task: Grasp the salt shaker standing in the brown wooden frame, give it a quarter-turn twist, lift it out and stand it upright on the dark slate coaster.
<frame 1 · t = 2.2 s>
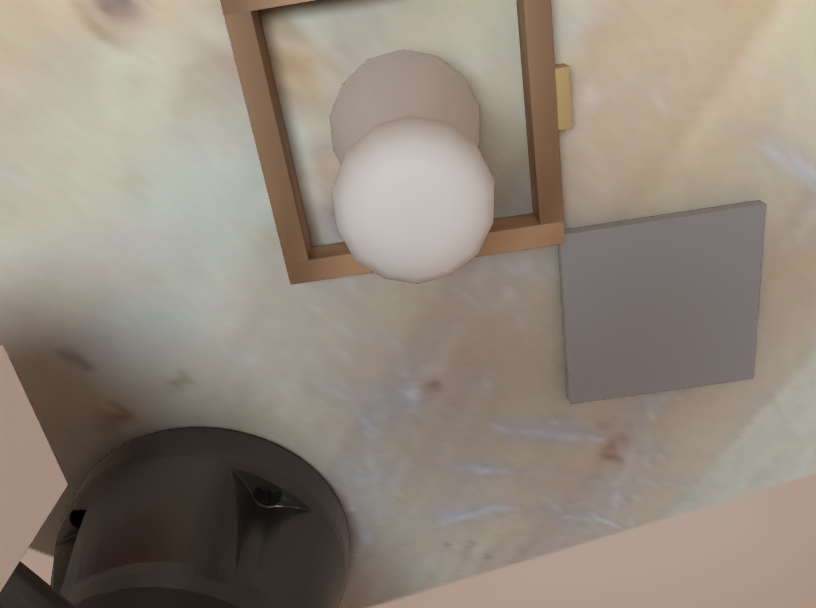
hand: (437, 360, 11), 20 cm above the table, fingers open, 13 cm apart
coaster: (657, 305, 33), on the table
brown wooden frame: (404, 117, 29), on the table
salt shaker: (404, 116, 29), resting in brown wooden frame
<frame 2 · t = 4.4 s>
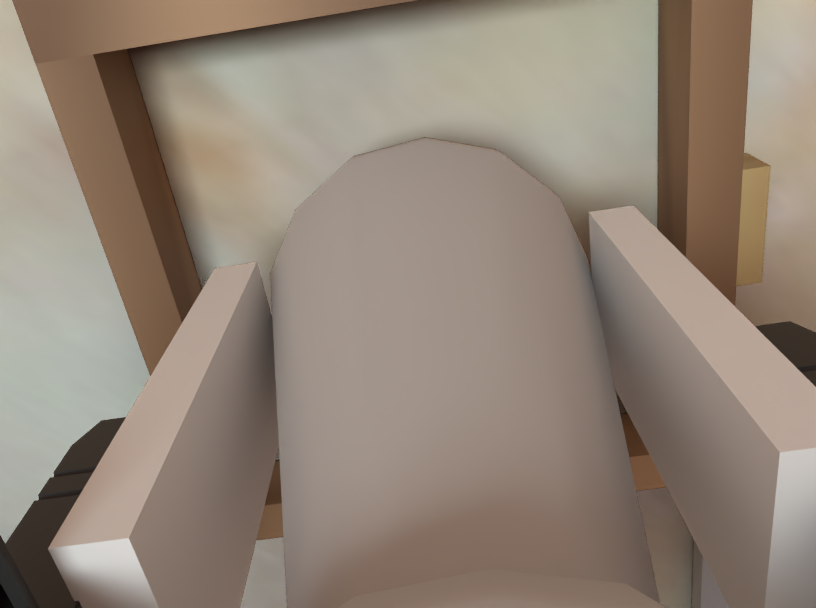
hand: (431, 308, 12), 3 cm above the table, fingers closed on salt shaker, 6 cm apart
brown wooden frame: (425, 250, 15), on the table
salt shaker: (424, 246, 15), resting in brown wooden frame, touching gripper
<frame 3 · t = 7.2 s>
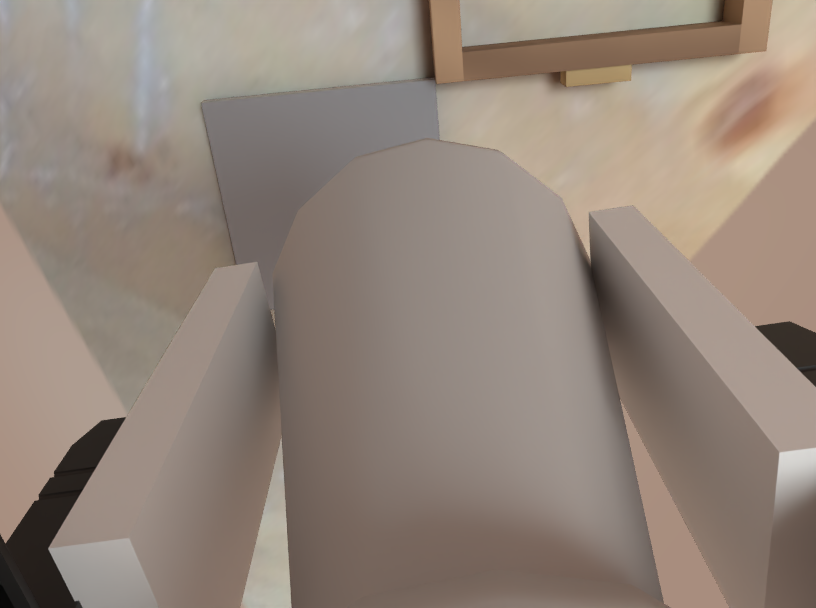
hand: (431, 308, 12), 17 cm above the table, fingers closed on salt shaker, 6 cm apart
coaster: (335, 199, 29), on the table
salt shaker: (426, 246, 15), point 14 cm above the table, touching gripper
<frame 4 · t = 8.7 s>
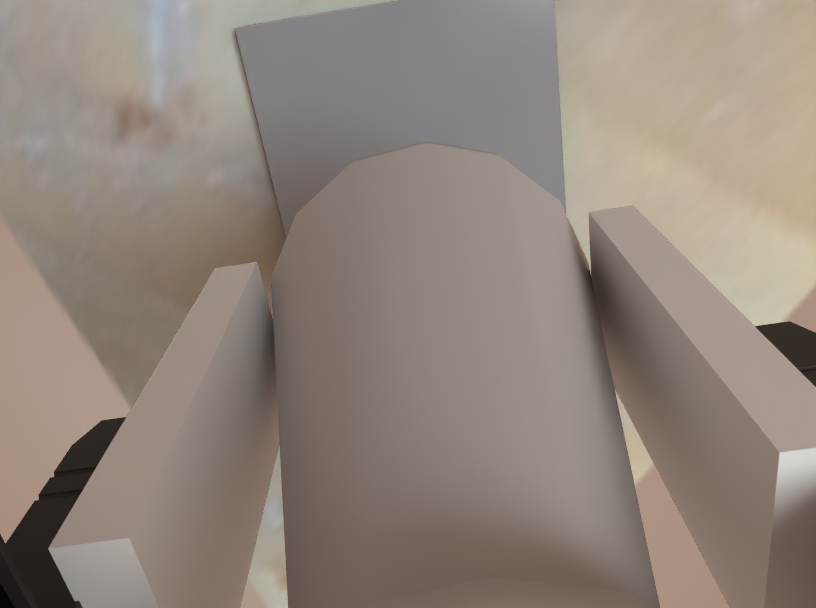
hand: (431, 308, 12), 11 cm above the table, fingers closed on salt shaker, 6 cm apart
coaster: (415, 154, 22), on the table
salt shaker: (425, 249, 15), point 8 cm above the table, touching gripper
when the fingers open (5 cm above the table, at t = 10.1 s): salt shaker drops 1 cm, resting on coaster.
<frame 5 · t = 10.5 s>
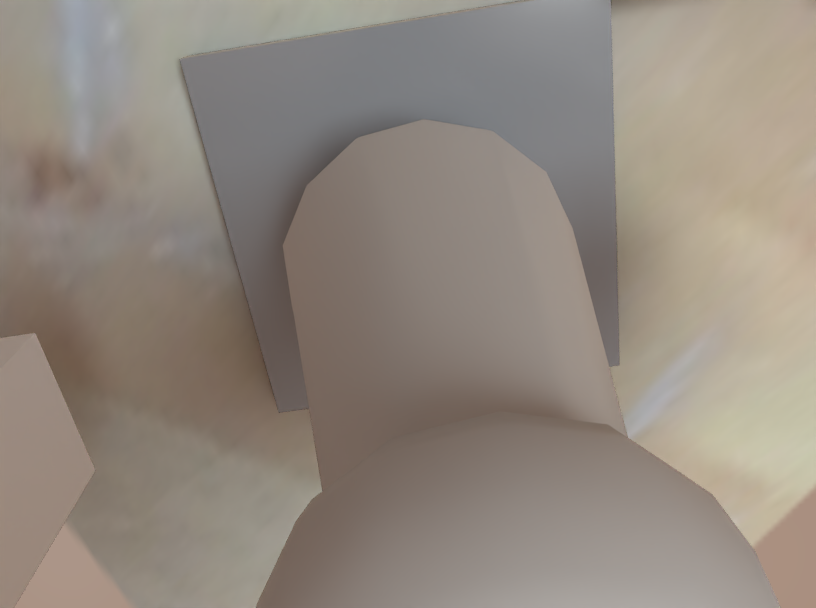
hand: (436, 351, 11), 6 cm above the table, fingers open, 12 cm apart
coaster: (421, 220, 17), on the table
salt shaker: (422, 226, 16), resting on coaster
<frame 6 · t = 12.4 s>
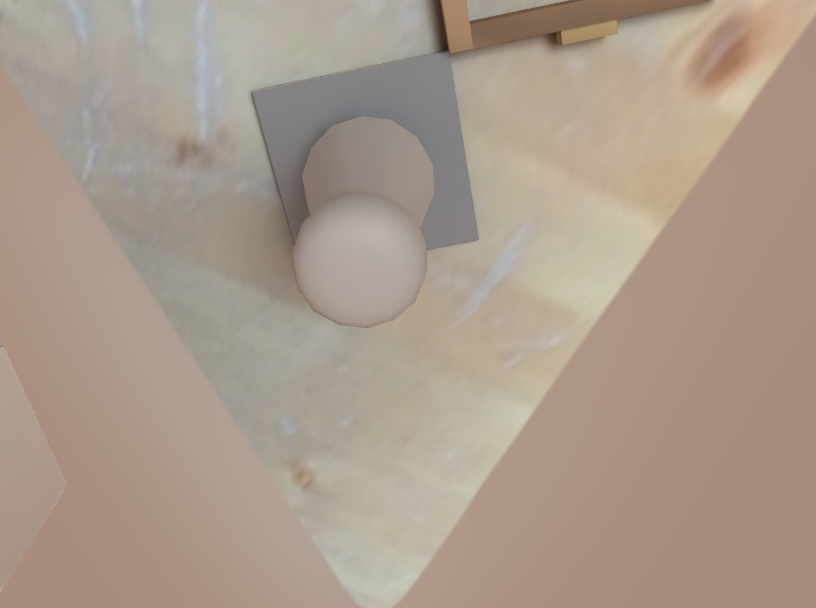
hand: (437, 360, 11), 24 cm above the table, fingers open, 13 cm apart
coaster: (371, 166, 34), on the table
salt shaker: (370, 168, 33), resting on coaster
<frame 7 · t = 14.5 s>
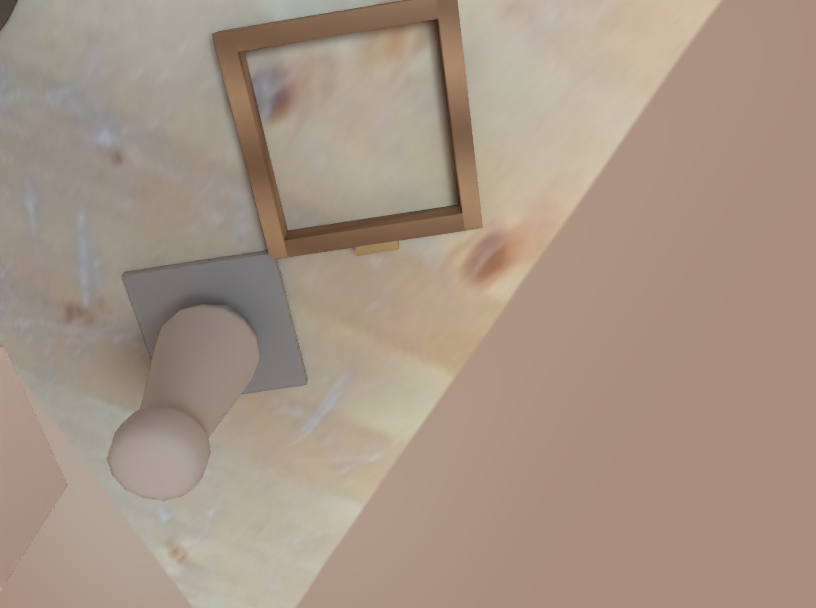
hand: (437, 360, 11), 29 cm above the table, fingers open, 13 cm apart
coaster: (219, 328, 43), on the table
brown wooden frame: (357, 130, 38), on the table
salt shaker: (218, 331, 42), resting on coaster
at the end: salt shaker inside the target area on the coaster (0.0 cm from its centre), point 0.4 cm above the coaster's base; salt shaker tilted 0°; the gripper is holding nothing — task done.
